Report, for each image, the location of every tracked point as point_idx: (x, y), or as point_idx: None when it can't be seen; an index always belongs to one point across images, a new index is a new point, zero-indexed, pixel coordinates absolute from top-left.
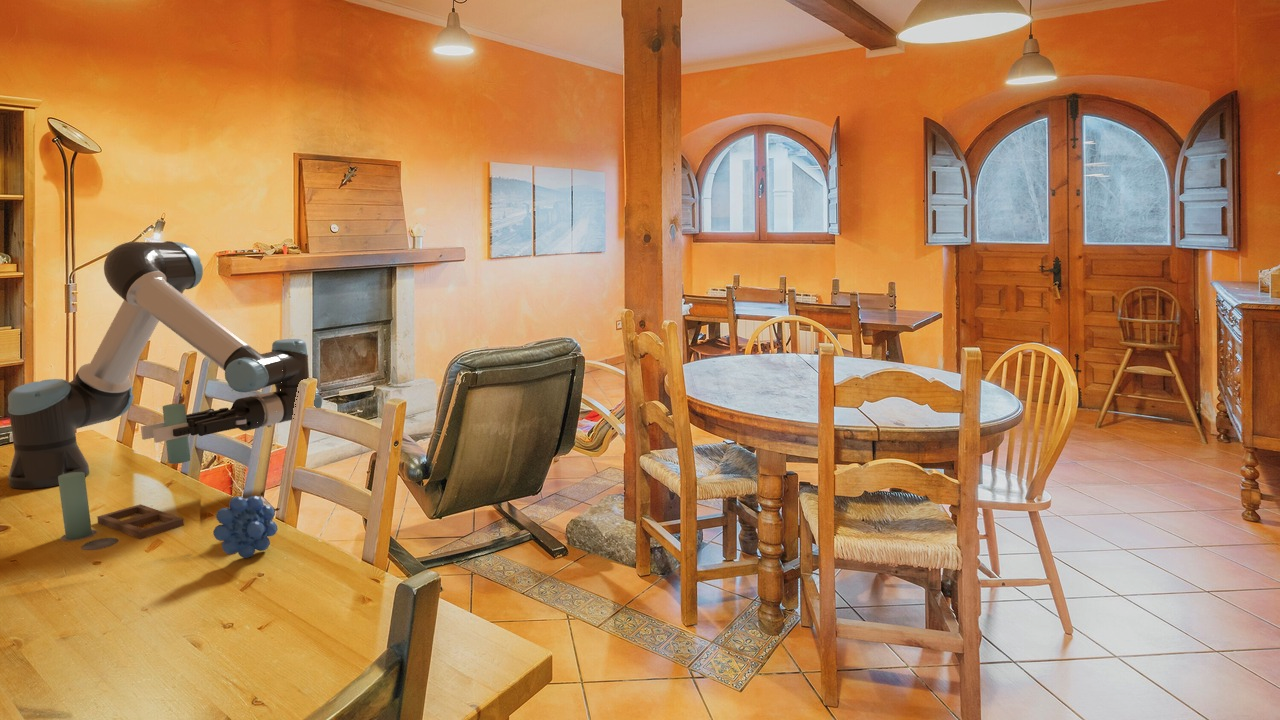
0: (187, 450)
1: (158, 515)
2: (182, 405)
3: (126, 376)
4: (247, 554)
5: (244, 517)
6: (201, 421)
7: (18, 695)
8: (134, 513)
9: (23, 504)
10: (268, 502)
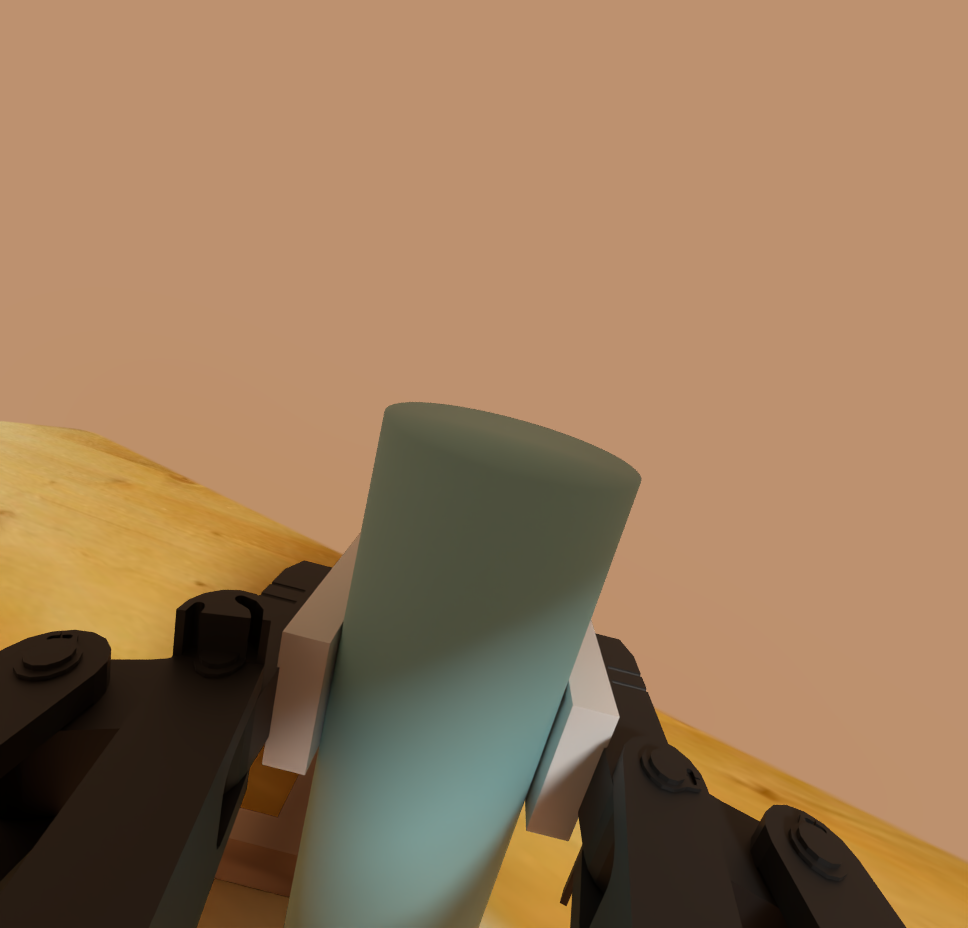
0: (290, 898)
1: (274, 819)
2: (417, 429)
3: None
4: None
5: None
6: (119, 792)
7: (97, 437)
8: None
9: (930, 866)
10: None
